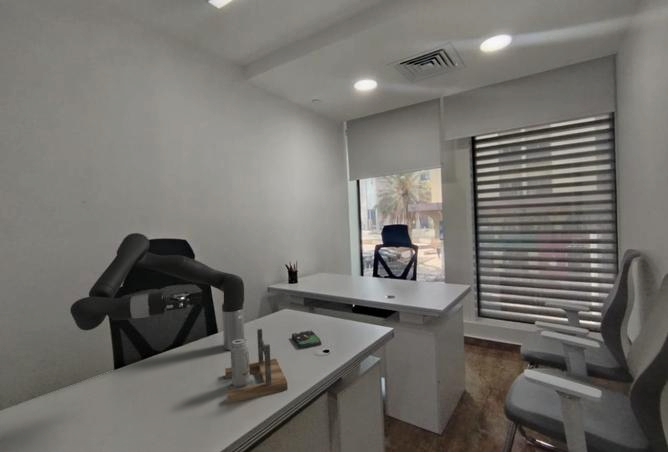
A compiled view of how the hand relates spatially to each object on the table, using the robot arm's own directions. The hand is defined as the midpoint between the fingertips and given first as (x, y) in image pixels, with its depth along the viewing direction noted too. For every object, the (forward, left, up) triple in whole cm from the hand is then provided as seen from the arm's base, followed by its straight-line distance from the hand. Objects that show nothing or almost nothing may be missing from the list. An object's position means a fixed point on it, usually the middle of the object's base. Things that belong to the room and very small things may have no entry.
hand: (201, 297), depth 109 cm
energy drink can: (+8, +10, -31) cm, 33 cm away
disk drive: (-10, +48, -32) cm, 58 cm away
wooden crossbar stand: (+9, +14, -31) cm, 35 cm away
